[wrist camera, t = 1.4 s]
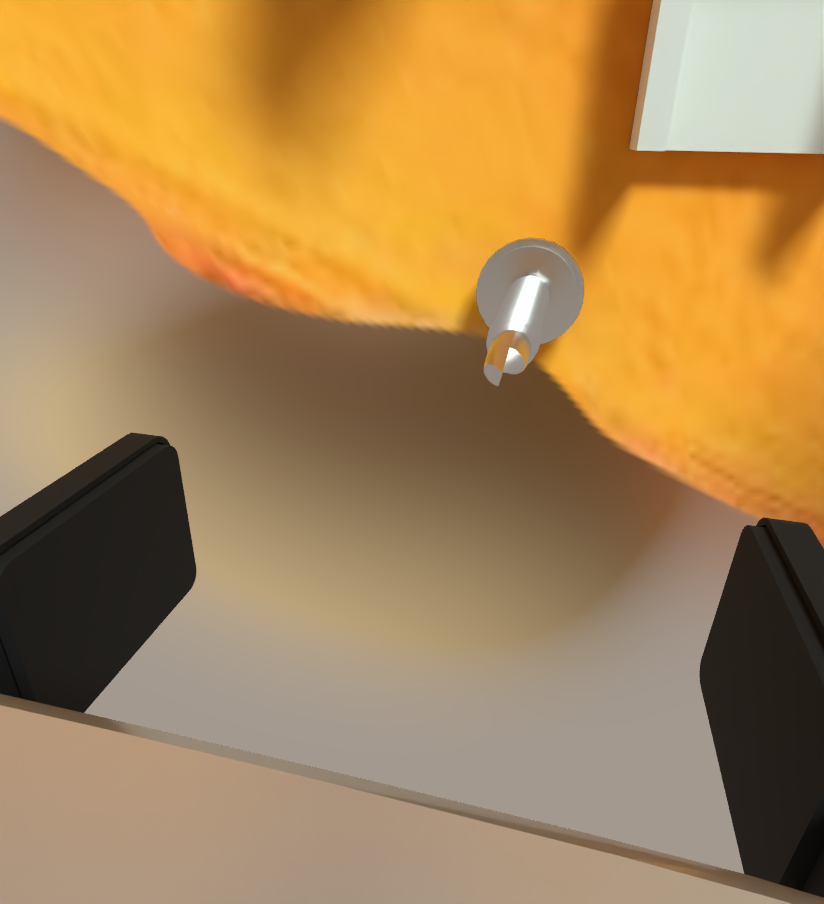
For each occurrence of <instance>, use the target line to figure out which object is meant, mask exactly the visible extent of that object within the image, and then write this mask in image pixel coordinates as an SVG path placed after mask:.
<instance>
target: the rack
mask: <svg viewBox="0 0 824 904" xmlns="http://www.w3.org/2000/svg"><path fill="white" fill-rule="evenodd" d="M629 149H631V150H636V151H665V150H675V151H718V152H761V153H804V154H824V0H653V3H652V9H651V15H650V22H649V28H648V34H647V40H646V47H645V53H644V59H643V66H642V72H641V78H640V84H639V91H638V97H637V103H636V110H635V116H634V122H633V128H632V135H631V141H630V147H629Z"/></svg>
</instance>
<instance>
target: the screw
mask: <svg viewBox="0 0 824 904" xmlns="http://www.w3.org/2000/svg"><path fill="white" fill-rule="evenodd" d="M476 296H477V305H478V309H479V312H480V315H481V317H482V318H483V320H484V322H485V324H486V325H487V326H488V327H489V331H488V335H487V340H486V347H487V351H488V353H487V356H486V359H485V363H484V374H485V376H486V378H487V379H488V380H489V381H490V382H491V383H492V384H494V385H496V386H499V382H500V380H501V377H502V374H503V372H504V373H509V374H519V373H521V372H523V371H524V369H525V367H526V365H528V364H529V363H530V362H531V361H532V360H533V358H534V357H535V355H536V354H537V352H538V350H539V347H540V344H545V343H547V342H550V341H552V340H554V339H556V338H558V337H559V336H560V335H562V334H563V333H565V332H566V331H567V330H568V329H569V328H570V326H571V325H572V324H573V323H574V321H575V320H576V318H577V316H578V315H579V312H580V309H581V307H582V304H583V297H584V283H583V277H582V274H581V271H580V268H579V266H578V264H577V263H576V261H575V259H574V258H573V256H572V255H571V254H570V253H569V252H568V251H567V250H566V249H564V248H563V247H561V246H560V245H558V244H556V243H555V242H552V241H549V240H546V239H541V238H525V239H519V240H516V241H513V242H510V243H508V244H506V245H505V246H503V247H502V248H500V249H498V250H497V251H496V252H495V253H494V254H493V255H492V256H491V257H490V258H489V260H488V261H487V263H486V264H485V266H484V267H483V269H482V271H481V274H480V276H479V279H478V283H477V290H476Z"/></svg>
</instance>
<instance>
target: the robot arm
mask: <svg viewBox="0 0 824 904" xmlns="http://www.w3.org/2000/svg"><path fill="white" fill-rule="evenodd" d="M195 578H196V564H195V558H194V552H193V546H192V539H191V533H190V527H189V521H188V514H187V509H186V502H185V496H184V490H183V484H182V477H181V472H180V465H179V459H178V454H177V451H176V449H175V448H174V447H172V446H170V444H169V442H168V440H167V439H166V438H164V437H161V436H153V435H146V434H138V433H130V434H128V435H126V436H125V437H123V438H121V439H120V440H118V441H117V442H115V443H114V444H112V445H111V446H109V447H107V448H106V449H104V450H103V451H101V452H100V453H98V454H96V455H95V456H93V457H92V458H90V459H89V460H87V461H86V462H84V463H83V464H81V465H80V466H78V467H76V468H75V469H73V470H72V471H70V472H69V473H67V474H66V475H64V476H63V477H61V478H59V479H58V480H56V481H55V482H53V483H52V484H50V485H49V486H47V487H45V488H44V489H42V490H41V491H39V492H38V493H36V494H35V495H33V496H32V497H30V498H28V499H27V500H25V501H24V502H22V503H21V504H19V505H18V506H16V507H15V508H13V509H12V510H10V511H8V512H7V513H5V514H4V515H2V516H1V517H0V904H824V549H823V547H822V545H821V544H820V542H819V540H818V539H817V537H816V536H815V534H814V532H813V531H812V529H811V527H810V526H809V525H808V524H806V523H800V522H792V521H785V520H777V519H770V518H762V519H760V521H759V522H758V523H757V525H756V526H750V525H747V526H746V527H744V529H743V530H742V533H741V536H740V539H739V542H738V545H737V548H736V551H735V555H734V558H733V561H732V564H731V567H730V570H729V574H728V577H727V580H726V583H725V586H724V589H723V593H722V596H721V599H720V602H719V605H718V608H717V611H716V615H715V618H714V621H713V624H712V627H711V630H710V634H709V637H708V640H707V643H706V646H705V649H704V653H703V656H702V659H701V664H700V684H701V689H702V693H703V698H704V702H705V706H706V711H707V715H708V719H709V724H710V728H711V732H712V736H713V741H714V745H715V749H716V754H717V758H718V762H719V767H720V771H721V775H722V779H723V784H724V788H725V792H726V797H727V801H728V805H729V810H730V814H731V818H732V823H733V827H734V831H735V836H736V840H737V844H738V848H739V853H740V857H741V861H742V865H743V870H744V874H742V873H738V872H734V871H730V870H727V869H722V868H719V867H715V866H711V865H708V864H703V863H700V862H696V861H692V860H688V859H684V858H681V857H676V856H673V855H669V854H665V853H661V852H658V851H654V850H650V849H646V848H642V847H638V846H634V845H630V844H626V843H623V842H619V841H615V840H611V839H608V838H604V837H600V836H596V835H591V834H588V833H583V832H580V831H575V830H571V829H567V828H563V827H559V826H555V825H551V824H546V823H543V822H539V821H534V820H530V819H526V818H522V817H518V816H514V815H510V814H506V813H501V812H497V811H493V810H489V809H485V808H481V807H477V806H473V805H468V804H464V803H461V802H456V801H452V800H448V799H444V798H440V797H436V796H432V795H428V794H424V793H419V792H415V791H411V790H407V789H403V788H399V787H395V786H391V785H386V784H382V783H378V782H374V781H370V780H366V779H361V778H357V777H353V776H349V775H345V774H340V773H336V772H332V771H328V770H324V769H319V768H315V767H311V766H306V765H303V764H298V763H294V762H290V761H286V760H282V759H278V758H273V757H269V756H265V755H261V754H257V753H252V752H248V751H244V750H240V749H235V748H231V747H227V746H223V745H218V744H214V743H209V742H206V741H201V740H197V739H193V738H189V737H185V736H180V735H176V734H172V733H168V732H163V731H159V730H155V729H150V728H146V727H142V726H138V725H133V724H129V723H125V722H120V721H116V720H112V719H107V718H103V717H99V716H94V715H90V714H86V713H84V712H85V711H86V709H87V708H88V707H89V706H90V705H91V704H92V703H93V701H94V700H95V699H96V698H97V697H98V696H99V694H100V693H101V692H102V691H103V690H104V689H105V687H106V686H107V685H108V684H109V683H110V682H111V681H112V680H113V678H114V677H115V676H116V675H117V674H118V673H119V671H120V670H121V669H122V668H123V667H124V666H125V665H126V663H127V662H128V661H129V660H130V659H131V658H132V656H133V655H134V654H135V653H136V652H137V651H138V649H139V648H140V647H141V646H142V645H143V644H144V643H145V641H146V640H147V639H148V638H149V637H150V636H151V634H152V633H153V632H154V631H155V630H156V629H157V627H158V626H159V625H160V624H161V623H162V622H163V621H164V619H165V618H166V617H167V616H168V615H169V614H170V612H171V611H172V610H173V609H174V608H175V607H176V605H177V604H178V603H179V602H180V601H181V600H182V599H183V597H184V596H185V595H186V594H187V593H188V592H189V590H190V589H191V588H192V586H193V583H194V581H195Z"/></svg>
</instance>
